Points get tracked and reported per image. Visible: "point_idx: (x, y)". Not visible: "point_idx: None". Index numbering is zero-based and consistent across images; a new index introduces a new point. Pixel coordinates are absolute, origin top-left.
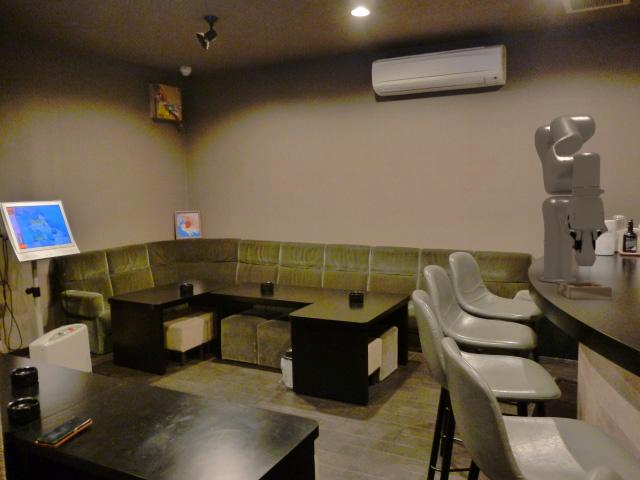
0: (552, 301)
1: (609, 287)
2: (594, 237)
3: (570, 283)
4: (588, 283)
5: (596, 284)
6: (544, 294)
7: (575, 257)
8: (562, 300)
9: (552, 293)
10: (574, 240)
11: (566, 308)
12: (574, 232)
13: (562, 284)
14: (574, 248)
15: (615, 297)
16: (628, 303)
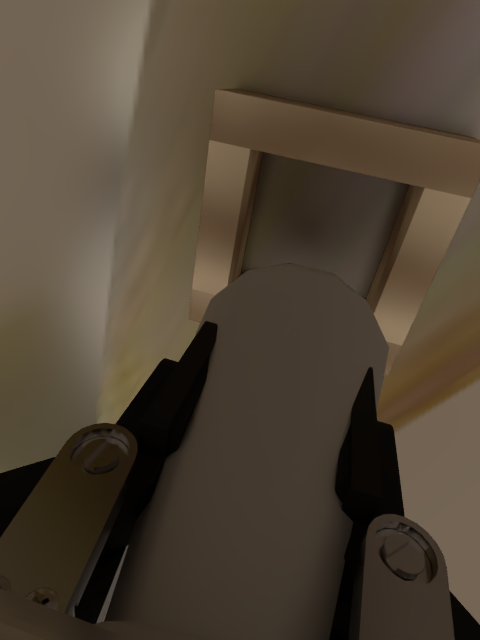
0: (112, 308)
1: (391, 359)
2: (344, 635)
3: (278, 154)
4: (405, 181)
5: (409, 251)
6: (139, 131)
7: (195, 335)
8: (159, 300)
9: (196, 103)
10: (107, 436)
11: (114, 412)
12: (14, 561)
13: (204, 185)
14: (159, 366)
15: (460, 298)
16: (384, 416)
